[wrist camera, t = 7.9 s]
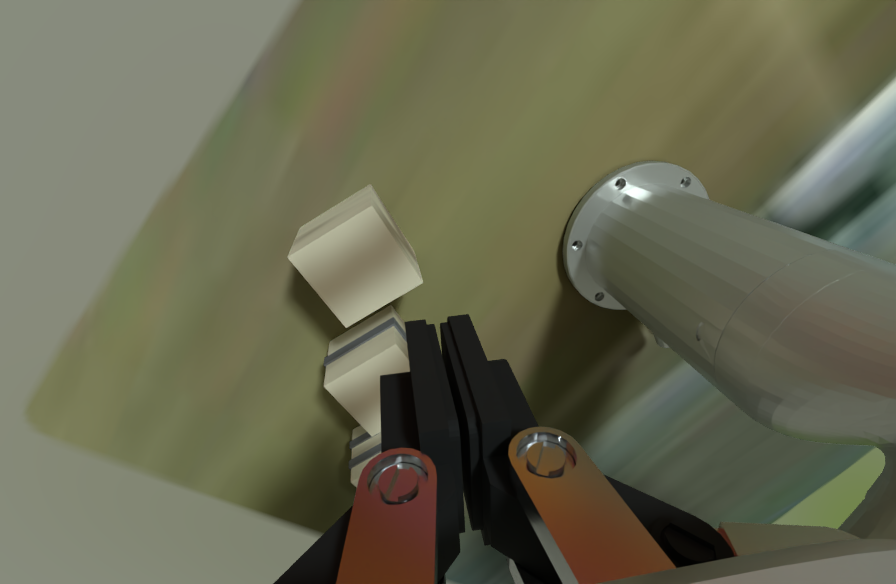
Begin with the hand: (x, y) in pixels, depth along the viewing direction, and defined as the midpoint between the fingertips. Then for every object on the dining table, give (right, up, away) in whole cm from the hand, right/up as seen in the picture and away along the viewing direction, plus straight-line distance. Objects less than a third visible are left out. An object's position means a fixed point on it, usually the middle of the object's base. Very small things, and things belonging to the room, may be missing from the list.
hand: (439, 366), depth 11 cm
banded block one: (-6, -3, +25) cm, 26 cm away
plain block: (-6, +6, +21) cm, 23 cm away
